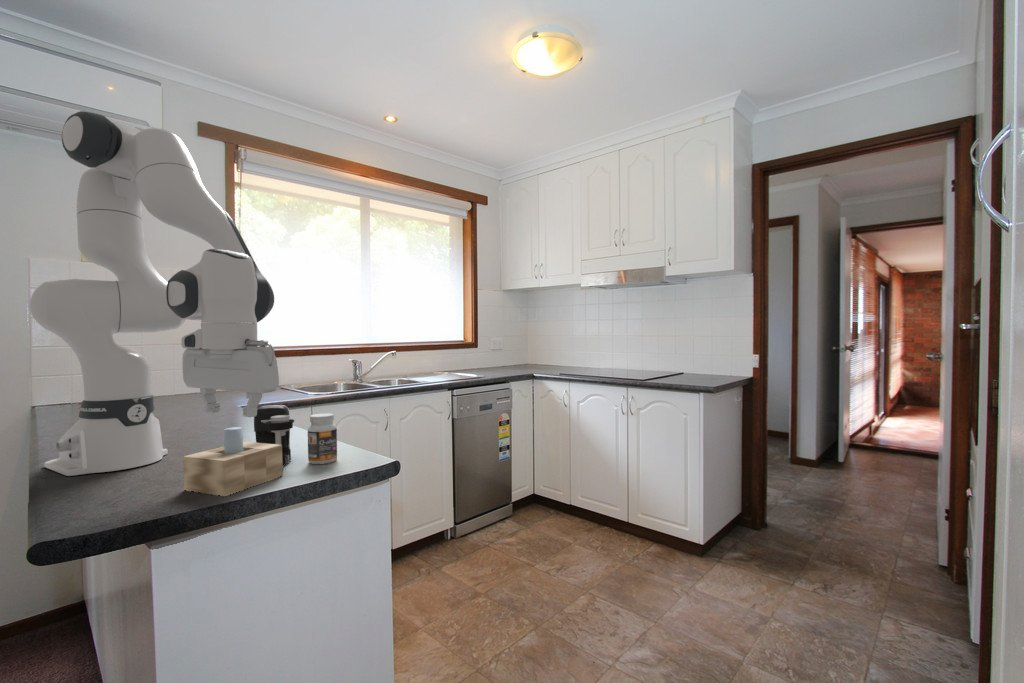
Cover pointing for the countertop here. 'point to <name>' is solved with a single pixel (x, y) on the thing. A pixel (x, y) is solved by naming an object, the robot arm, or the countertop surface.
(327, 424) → the pill bottle
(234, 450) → the peg
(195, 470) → the socket block
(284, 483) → the countertop surface
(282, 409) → the coffee maker
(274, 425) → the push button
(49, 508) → the countertop surface
